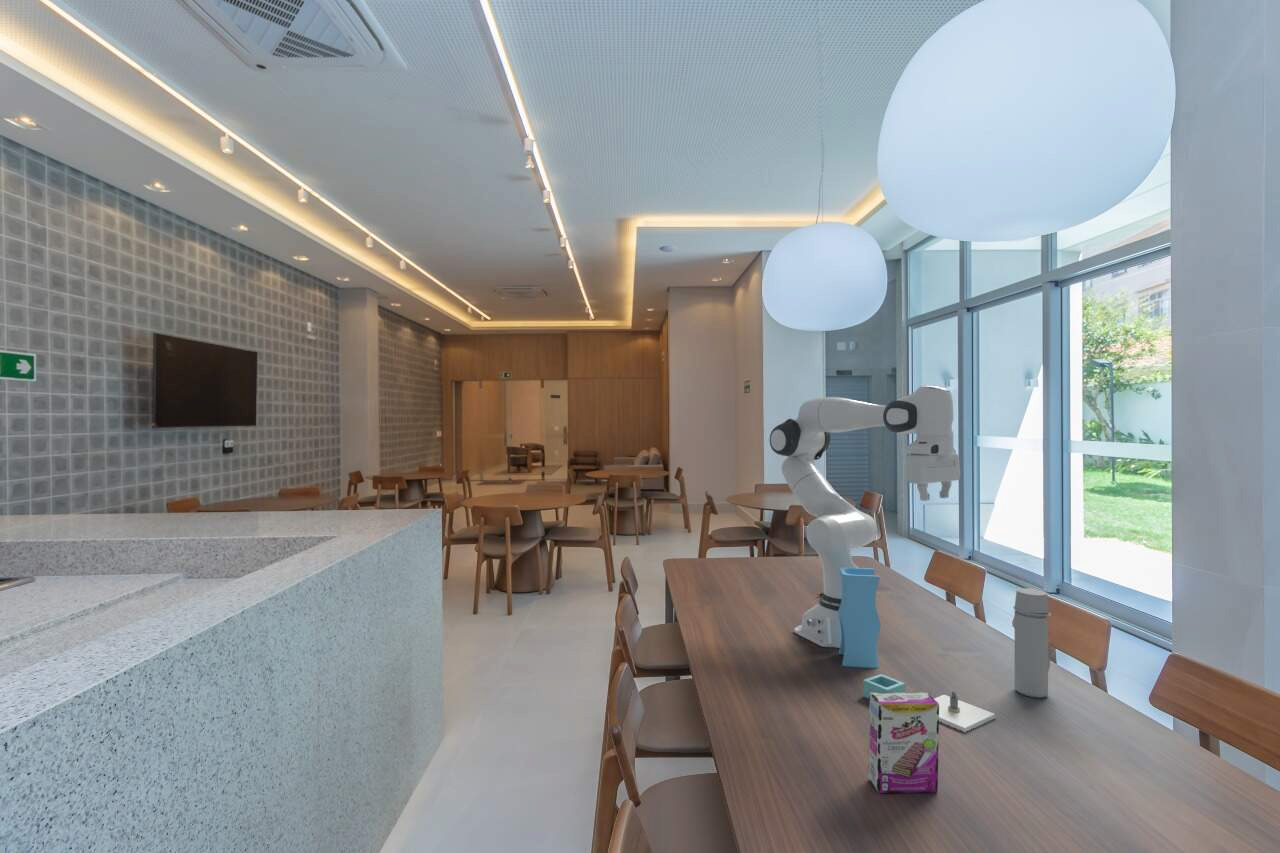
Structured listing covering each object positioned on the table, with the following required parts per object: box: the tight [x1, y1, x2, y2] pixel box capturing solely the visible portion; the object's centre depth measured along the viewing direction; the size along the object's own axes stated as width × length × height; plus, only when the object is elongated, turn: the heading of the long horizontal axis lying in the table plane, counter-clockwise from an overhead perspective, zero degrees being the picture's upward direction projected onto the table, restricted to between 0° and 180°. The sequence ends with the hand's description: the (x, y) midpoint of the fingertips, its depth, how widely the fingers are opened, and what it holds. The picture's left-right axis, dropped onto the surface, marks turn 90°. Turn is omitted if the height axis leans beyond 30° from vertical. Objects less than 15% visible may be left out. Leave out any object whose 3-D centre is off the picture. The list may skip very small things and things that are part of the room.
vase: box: [838, 567, 881, 669], centre depth 174 cm, size 10×10×25 cm
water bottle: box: [1013, 587, 1052, 699], centre depth 153 cm, size 9×8×25 cm
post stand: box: [933, 690, 996, 733], centre depth 141 cm, size 12×12×5 cm
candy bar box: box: [867, 692, 940, 794], centre depth 113 cm, size 11×5×16 cm, turn 92°
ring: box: [862, 673, 906, 700], centre depth 150 cm, size 7×7×4 cm
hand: (934, 499), depth 163 cm, fingers open, 8 cm apart
